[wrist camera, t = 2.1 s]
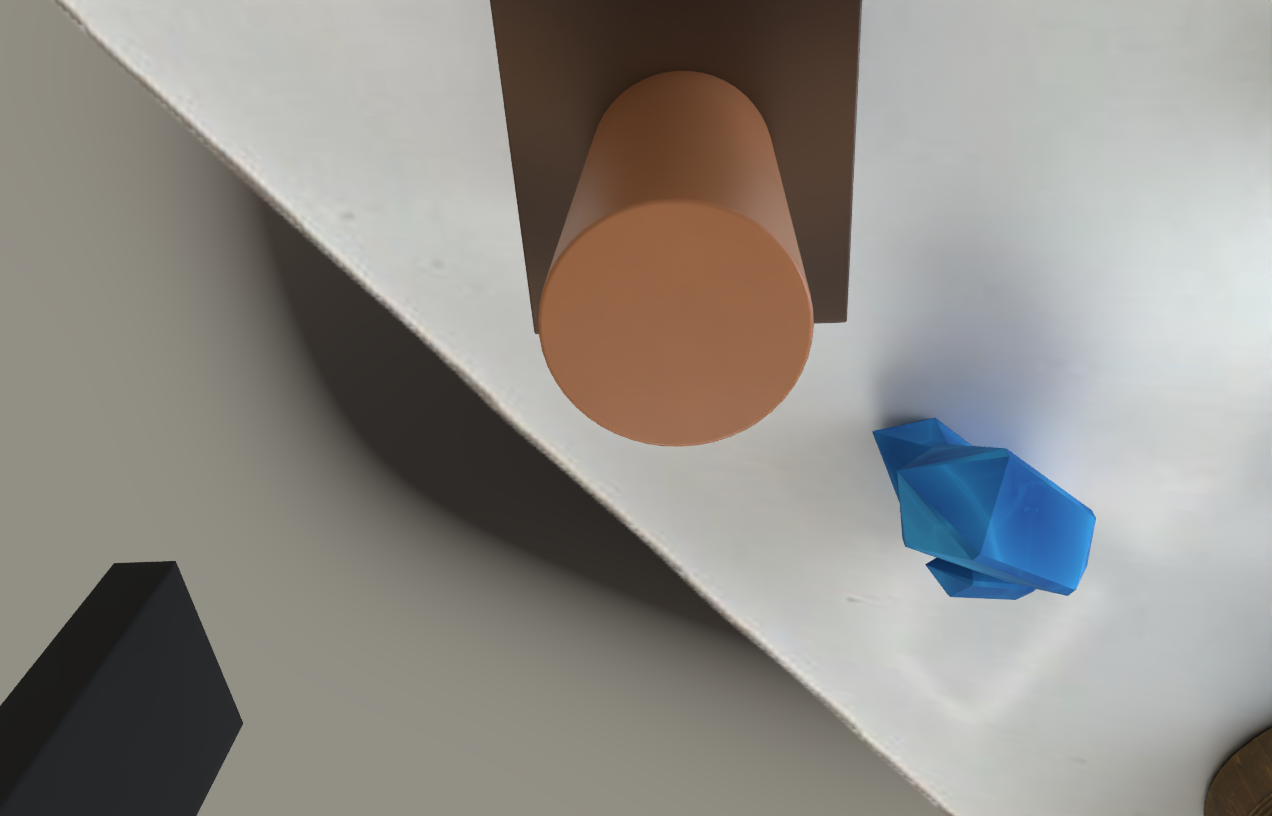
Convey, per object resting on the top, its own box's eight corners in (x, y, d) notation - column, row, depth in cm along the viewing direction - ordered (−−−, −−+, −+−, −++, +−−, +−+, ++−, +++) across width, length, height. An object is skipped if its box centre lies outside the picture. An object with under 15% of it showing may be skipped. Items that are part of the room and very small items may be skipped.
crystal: (1042, 690, 40) (832, 607, 35) (959, 539, 47) (773, 451, 41) (1190, 579, 37) (982, 469, 31) (1077, 435, 43) (891, 324, 38)
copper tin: (582, 75, 24) (520, 206, 16) (774, 64, 24) (818, 191, 15) (598, 254, 27) (553, 452, 18) (772, 246, 26) (810, 444, 18)
